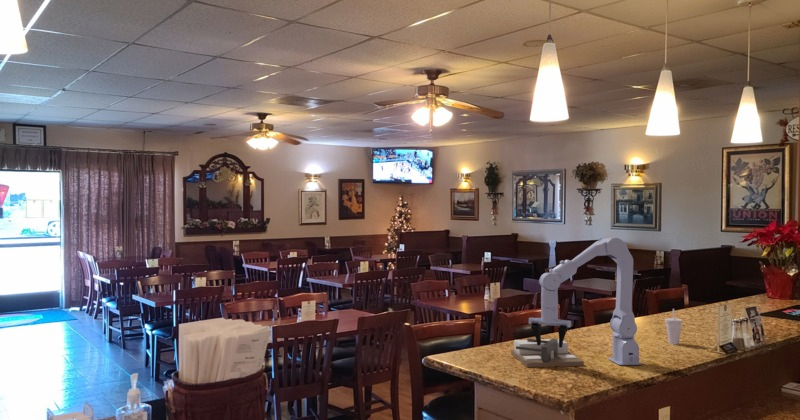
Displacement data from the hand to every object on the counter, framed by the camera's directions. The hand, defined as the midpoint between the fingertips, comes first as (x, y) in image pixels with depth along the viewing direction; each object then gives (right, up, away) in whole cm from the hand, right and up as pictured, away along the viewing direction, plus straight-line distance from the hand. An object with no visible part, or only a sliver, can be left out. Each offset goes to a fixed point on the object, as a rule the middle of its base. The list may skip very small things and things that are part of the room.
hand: (549, 345), depth 212 cm
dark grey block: (-4, -4, +2) cm, 6 cm away
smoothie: (+57, -6, +28) cm, 64 cm away
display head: (0, -6, +4) cm, 7 cm away
